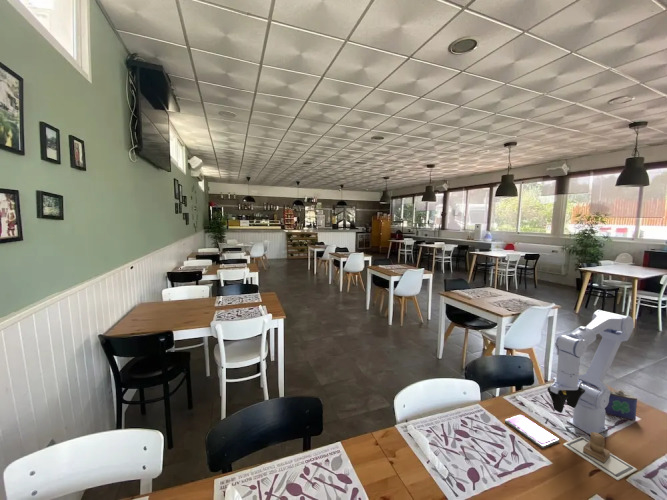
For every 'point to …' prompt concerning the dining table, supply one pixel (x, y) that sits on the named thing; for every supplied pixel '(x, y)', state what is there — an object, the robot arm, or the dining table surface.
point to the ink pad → (532, 431)
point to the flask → (622, 405)
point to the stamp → (596, 448)
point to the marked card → (611, 466)
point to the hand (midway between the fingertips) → (564, 408)
